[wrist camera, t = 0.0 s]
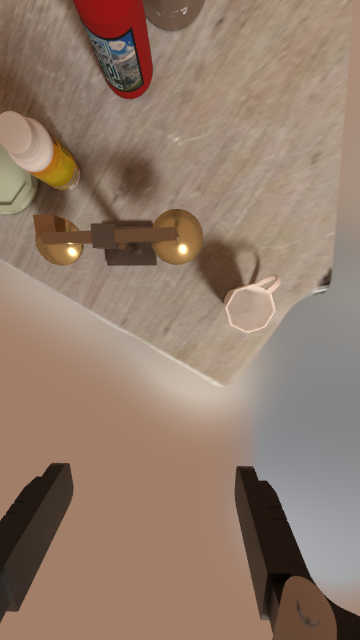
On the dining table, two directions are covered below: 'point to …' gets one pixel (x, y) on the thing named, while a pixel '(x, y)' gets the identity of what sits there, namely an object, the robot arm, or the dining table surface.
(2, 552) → the robot arm
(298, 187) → the dining table surface
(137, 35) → the beverage can
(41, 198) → the dining table surface
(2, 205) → the dish
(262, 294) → the cup
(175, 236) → the balance
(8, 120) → the supplement bottle
